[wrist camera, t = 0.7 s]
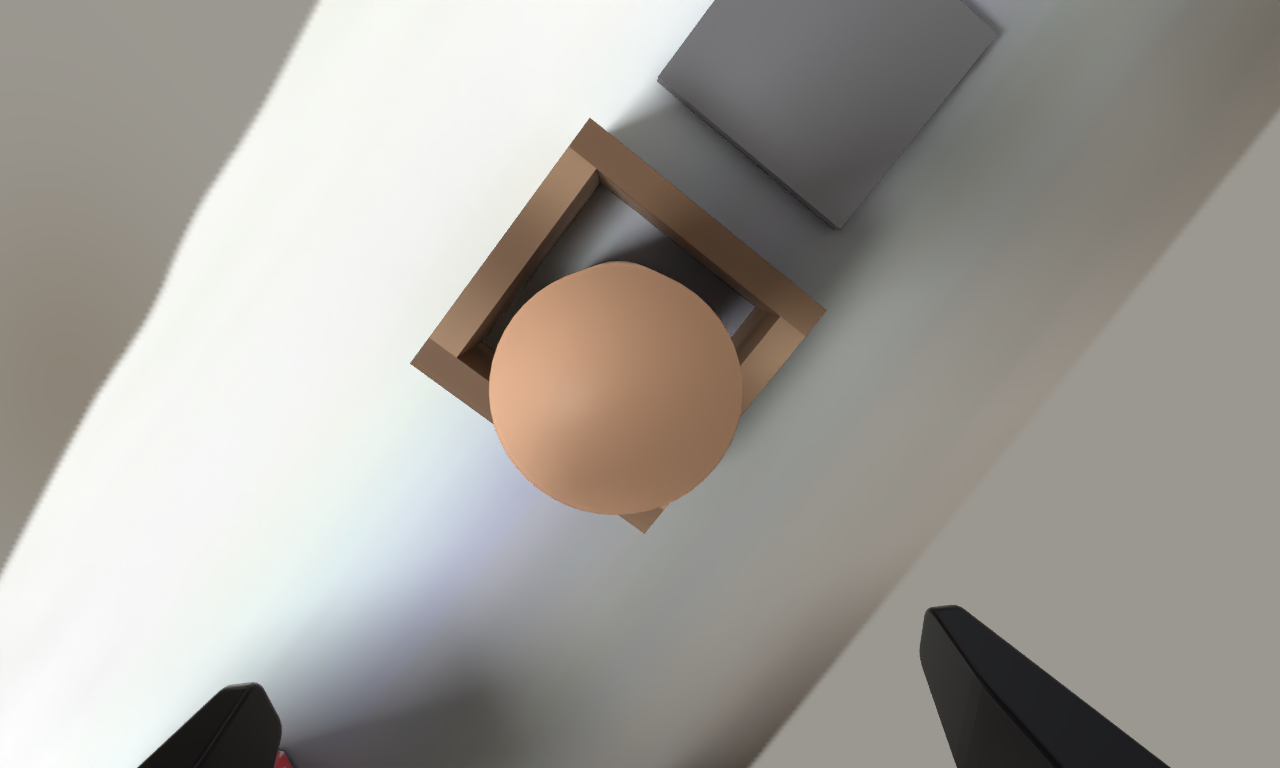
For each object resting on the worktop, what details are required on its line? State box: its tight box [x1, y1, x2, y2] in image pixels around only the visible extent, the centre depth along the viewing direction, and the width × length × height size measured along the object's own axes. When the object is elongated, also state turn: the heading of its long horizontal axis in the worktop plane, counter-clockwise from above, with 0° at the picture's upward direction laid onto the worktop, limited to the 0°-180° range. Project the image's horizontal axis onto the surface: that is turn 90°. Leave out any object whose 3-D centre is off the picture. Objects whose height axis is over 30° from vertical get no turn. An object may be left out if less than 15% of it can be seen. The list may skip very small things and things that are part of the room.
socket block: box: [410, 118, 827, 534], centre depth 23 cm, size 9×9×4 cm
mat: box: [657, 0, 997, 230], centre depth 24 cm, size 8×8×1 cm
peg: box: [489, 261, 743, 515], centre depth 19 cm, size 4×4×13 cm
